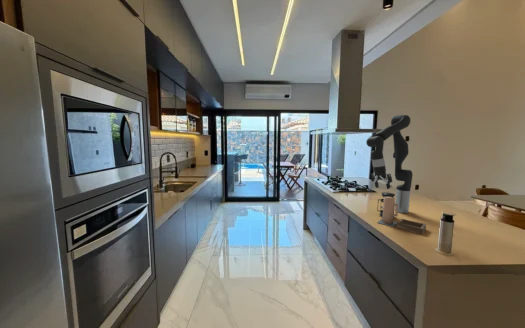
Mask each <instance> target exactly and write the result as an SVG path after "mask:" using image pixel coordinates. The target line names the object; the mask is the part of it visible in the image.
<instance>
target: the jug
mask: <svg viewBox="0 0 525 328" xmlns="http://www.w3.org/2000/svg"><path fill="white" fill-rule="evenodd" d="M383 199H384V200H383V202H382V206H383V209H382V210H383V215H382V217H381V219H382V222H383V223H386V224H393V221H394V218H393V216H394V217H396V218H397V217H398V216H399V215H398V214H399V212H398V204H395V203H394V202H395V201H396V197H387V196H385V197H383ZM394 206H396V211H395V207H394Z"/></svg>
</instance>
